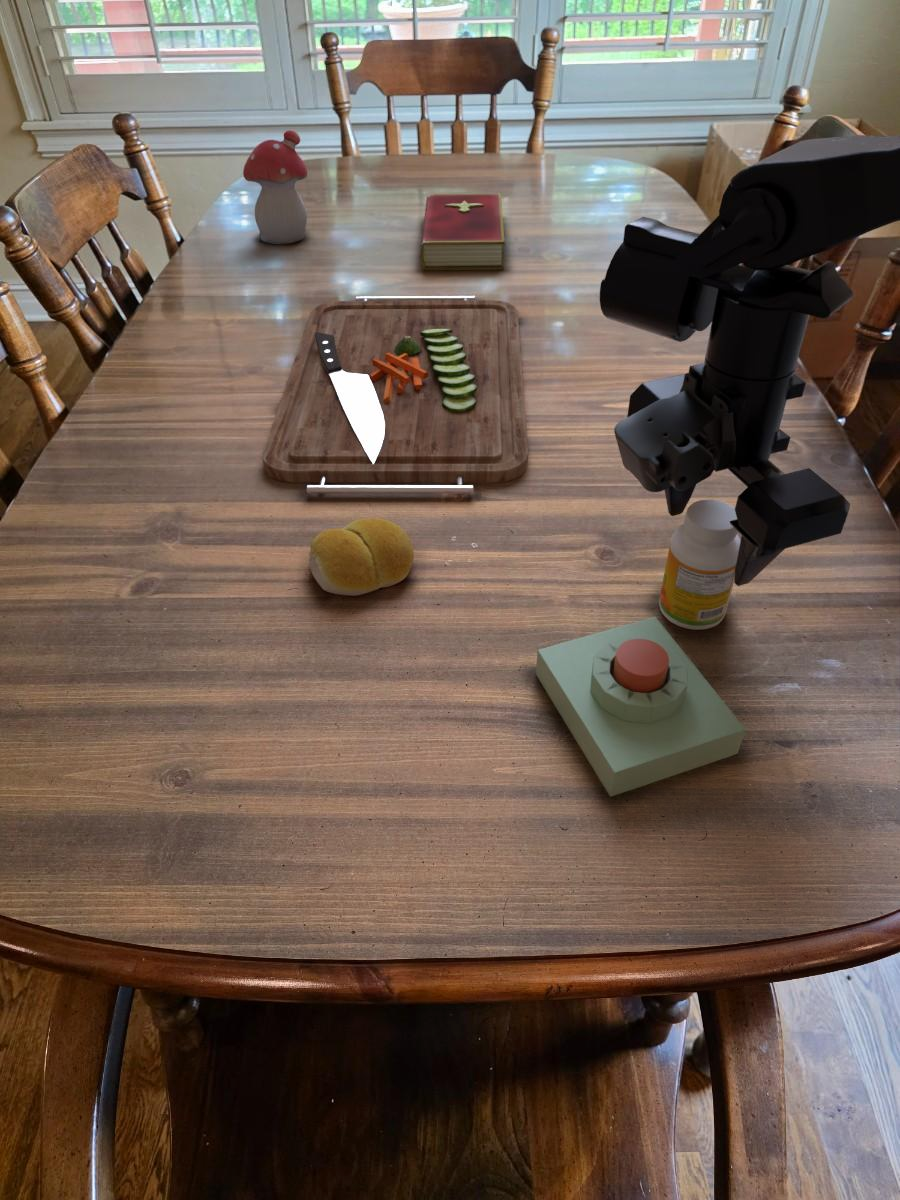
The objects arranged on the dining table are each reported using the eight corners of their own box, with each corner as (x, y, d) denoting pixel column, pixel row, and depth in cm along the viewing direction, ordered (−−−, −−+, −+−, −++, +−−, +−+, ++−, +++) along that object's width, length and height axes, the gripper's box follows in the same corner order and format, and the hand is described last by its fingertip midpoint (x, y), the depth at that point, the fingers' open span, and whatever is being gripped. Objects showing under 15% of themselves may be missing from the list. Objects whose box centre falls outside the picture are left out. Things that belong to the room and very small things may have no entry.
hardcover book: (420, 270, 125) (419, 240, 123) (426, 219, 141) (425, 192, 138) (503, 269, 125) (504, 239, 122) (500, 219, 141) (500, 191, 138)
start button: (648, 650, 62) (652, 632, 61) (675, 685, 60) (679, 667, 59) (604, 663, 62) (606, 646, 60) (629, 699, 59) (632, 681, 58)
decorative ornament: (316, 230, 138) (304, 126, 128) (312, 245, 133) (299, 138, 123) (257, 231, 138) (241, 127, 128) (251, 246, 133) (233, 139, 123)
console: (650, 640, 69) (658, 598, 66) (737, 754, 60) (752, 712, 57) (535, 674, 66) (538, 632, 63) (610, 797, 58) (617, 755, 55)
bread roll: (429, 577, 75) (427, 541, 72) (332, 611, 72) (327, 574, 69) (389, 526, 80) (387, 490, 78) (298, 555, 78) (292, 519, 75)
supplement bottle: (671, 580, 74) (690, 486, 68) (733, 600, 72) (759, 505, 66) (648, 617, 71) (666, 522, 64) (713, 640, 69) (738, 544, 62)
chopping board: (530, 497, 83) (531, 470, 81) (253, 497, 84) (248, 470, 82) (515, 302, 117) (516, 279, 115) (317, 303, 117) (315, 281, 115)
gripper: (574, 323, 61) (559, 503, 72) (725, 458, 48) (680, 655, 59) (711, 298, 64) (677, 475, 74) (888, 419, 51) (817, 614, 61)
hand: (706, 547), depth 67 cm, fingers open, 9 cm apart
